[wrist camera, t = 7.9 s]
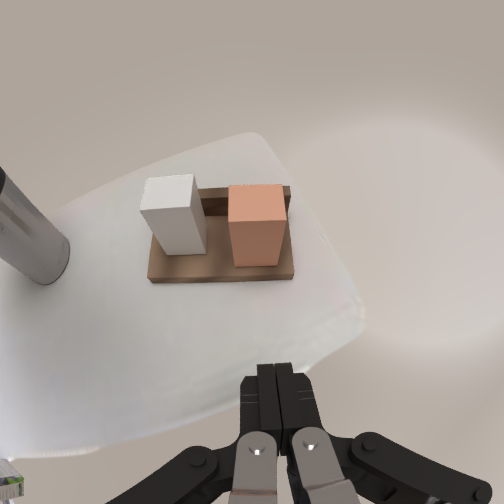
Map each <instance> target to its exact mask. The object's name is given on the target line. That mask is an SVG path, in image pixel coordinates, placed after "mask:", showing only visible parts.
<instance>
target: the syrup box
mask: <svg viewBox="0 0 504 504" xmlns="http://www.w3.org/2000/svg"><path fill="white" fill-rule="evenodd" d="M23 480H24V478H23V477H22V476H21V475H20V474H19V473H18V472H17V471H16V470H15V469H14V468H13V467H12V466H11V465H10V464H9V463H8V462H7V460H6V459H0V501H3V500H7V499H12V498H16V497H20V496H23V495H24V494H23Z"/></svg>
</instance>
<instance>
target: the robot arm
mask: <svg viewBox="0 0 504 504" xmlns="http://www.w3.org/2000/svg"><path fill="white" fill-rule="evenodd" d="M0 258H1V259H3V260H4V261H6V262H7V263H9V264H10V265H11V266H13V267H14V268H16V269H17V270H19V271H20V272H22V273H23V274H25V275H26V276H28V277H29V278H31V279H32V280H34V281H36V282H37V283H39V284H42V285H46V284H50V283H52V282H54V281H55V280H56V279H57V278H58V277H59V276H60V275H61V273H62V272H63V270H64V269H65V266H66V264H67V261H68V258H69V242H68V240H67V238H66V237H65V236H64V235H63V234H62V233H61V232H60V231H59V230H58V229H57V228H55V227H54V225H53V224H52V223H51V222H50V221H49V220H48V219H47V218H46V217H45V216H44V215H43V214H42V213H41V212H40V211H39V210H38V209H37V208H36V207H35V206H34V205H33V204H32V203H31V202H30V200H29V199H28V198H27V197H26V196H25V195H24V194H23V193H22V192H21V190H20V189H19V188H18V187H17V186H16V185H15V184H14V183H13V181H12V180H11V179H10V178H9V177H8V175H7V174H6V173H5V172H4V171H3V169H2V168H1V167H0ZM279 451H280V454H281V456H287V464H288V465H287V474H288V479H289V483H290V487H291V492H292V496H293V501H294V504H360V502H359V499H358V496H357V494H359V495H360V496H362V497H364V498H366V499H368V500H369V501H371V502H373V503H375V504H488V503H489V502H490V500H491V497H492V488H491V486H490V484H489V483H487V482H485V481H483V480H480V479H477V478H474V477H471V476H469V475H466V474H463V473H461V472H458V471H456V470H453V469H451V468H448V467H446V466H444V465H441V464H439V463H437V462H434V461H432V460H430V459H428V458H426V457H423V456H421V455H419V454H417V453H415V452H413V451H411V450H409V449H407V448H405V447H403V446H401V445H399V444H397V443H395V442H393V441H391V440H389V439H387V438H385V437H384V436H382V435H380V434H378V433H375V432H365V433H361V434H360V435H358V436H357V437H355V439H352V438H340V437H335V436H332V435H330V434H329V433H327V432H326V431H325V430H324V428H323V426H322V424H321V420H320V416H319V412H318V408H317V405H316V401H315V398H314V393H313V389H312V386H311V382H310V380H309V378H308V377H307V376H306V375H305V374H304V373H293V369H292V364H291V362H290V363H275V364H274V365H273V364H257V376H245V378H244V380H243V381H242V383H241V385H240V434H239V437H238V439H237V440H236V441H235V442H234V443H233V444H231V445H230V446H227V447H224V448H221V449H216V450H211V449H209V448H206V447H203V446H192V447H189V448H187V449H185V450H184V451H182V452H181V453H180V454H178V455H177V456H176V457H174V458H173V459H172V460H170V461H169V462H168V463H166V464H165V465H164V466H162V467H161V468H160V469H158V470H157V471H155V472H154V473H153V474H151V475H150V476H148V477H147V478H145V479H144V480H142V481H141V482H139V483H138V484H136V485H135V486H133V487H132V488H130V489H129V490H127V491H125V492H124V493H122V494H121V495H119V496H117V497H116V498H114V499H113V500H111V501H109V502H107V503H106V504H211V503H212V502H213V501H214V500H216V499H217V498H218V497H219V496H220V495H221V494H222V493H224V492H228V491H231V492H230V496H229V503H228V504H277V488H276V484H277V483H276V482H277V474H276V473H277V456H279ZM356 493H357V494H356Z"/></svg>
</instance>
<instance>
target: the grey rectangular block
mask: <svg viewBox="0 0 504 504" xmlns="http://www.w3.org/2000/svg"><path fill="white" fill-rule="evenodd" d="M140 212H141V214H142V215H143V217H144V219H145V220H146V222H147V224H148V225H149V227H150V229H151V230H152V232H153V234H154V235H155V237H156V238H157V240H158V242H159V243H160V245H161V246H162V248H163V250H164V251H165V253H166V254H167V255H192V254H206V245H207V223H206V219H205V215H204V211H203V208H202V204H201V200H200V196H199V192H198V189H197V185H196V181H195V177H194V174H185V175H173V176H163V177H153V178H147V180H146V184H145V188H144V192H143V196H142V201H141V205H140Z"/></svg>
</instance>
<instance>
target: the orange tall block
mask: <svg viewBox="0 0 504 504" xmlns="http://www.w3.org/2000/svg"><path fill="white" fill-rule="evenodd" d="M286 221H287V219H286V211H285V203H284V195H283V187H282V184H274V185H237V186H229V203H228V223H229V230H230V237H231V244H232V251H233V257H234V264H235V267H251V266H277V264H278V259H279V255H280V250H281V245H282V240H283V236H284V231H285V226H286Z"/></svg>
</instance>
